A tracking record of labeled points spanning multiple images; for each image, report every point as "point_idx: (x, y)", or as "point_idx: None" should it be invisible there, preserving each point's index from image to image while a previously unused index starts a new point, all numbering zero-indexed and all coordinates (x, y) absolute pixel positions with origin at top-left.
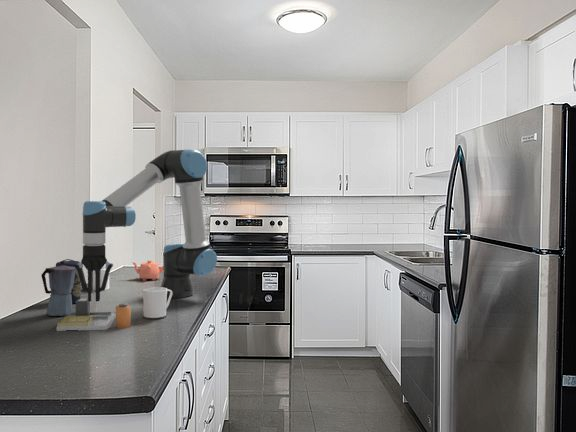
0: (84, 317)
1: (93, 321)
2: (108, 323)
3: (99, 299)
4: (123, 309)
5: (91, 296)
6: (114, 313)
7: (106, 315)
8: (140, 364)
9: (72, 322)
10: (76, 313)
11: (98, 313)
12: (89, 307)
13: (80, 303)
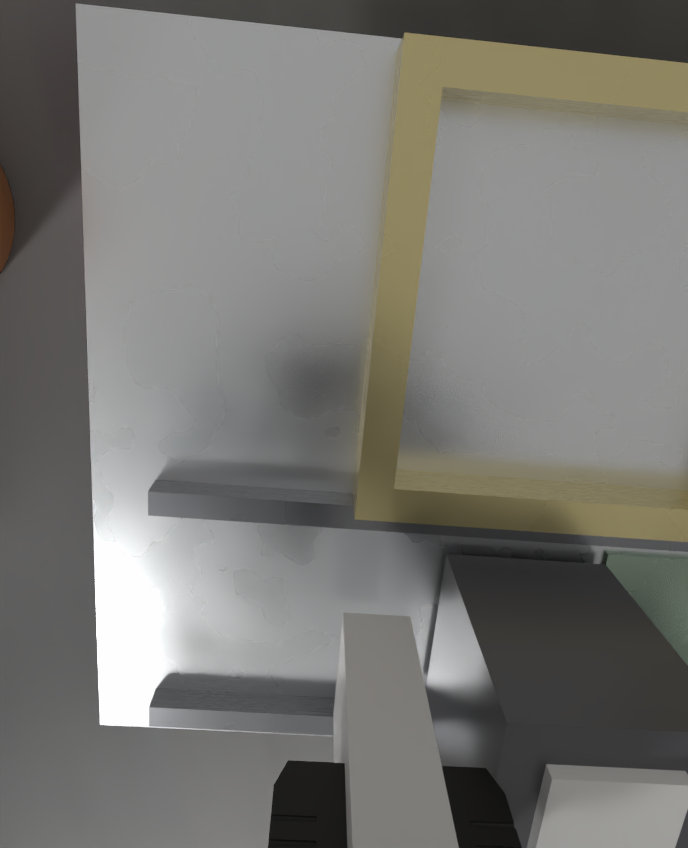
0: (486, 486)
1: (340, 322)
2: (84, 142)
3: (272, 810)
4: None
5: (448, 841)
6: (115, 717)
7: (203, 632)
8: None
9: (669, 63)
10: (617, 594)
11: (318, 707)
12: (448, 740)
13: (631, 700)
